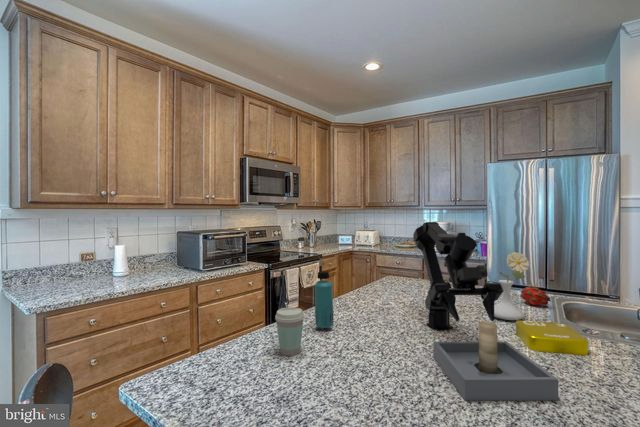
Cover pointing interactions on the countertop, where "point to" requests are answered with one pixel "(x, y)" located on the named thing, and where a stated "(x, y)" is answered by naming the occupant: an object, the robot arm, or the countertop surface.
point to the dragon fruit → (534, 296)
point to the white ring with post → (385, 301)
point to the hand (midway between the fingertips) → (475, 320)
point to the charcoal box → (508, 384)
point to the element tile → (551, 337)
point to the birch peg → (487, 347)
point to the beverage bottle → (323, 301)
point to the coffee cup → (289, 330)
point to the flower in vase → (506, 306)
